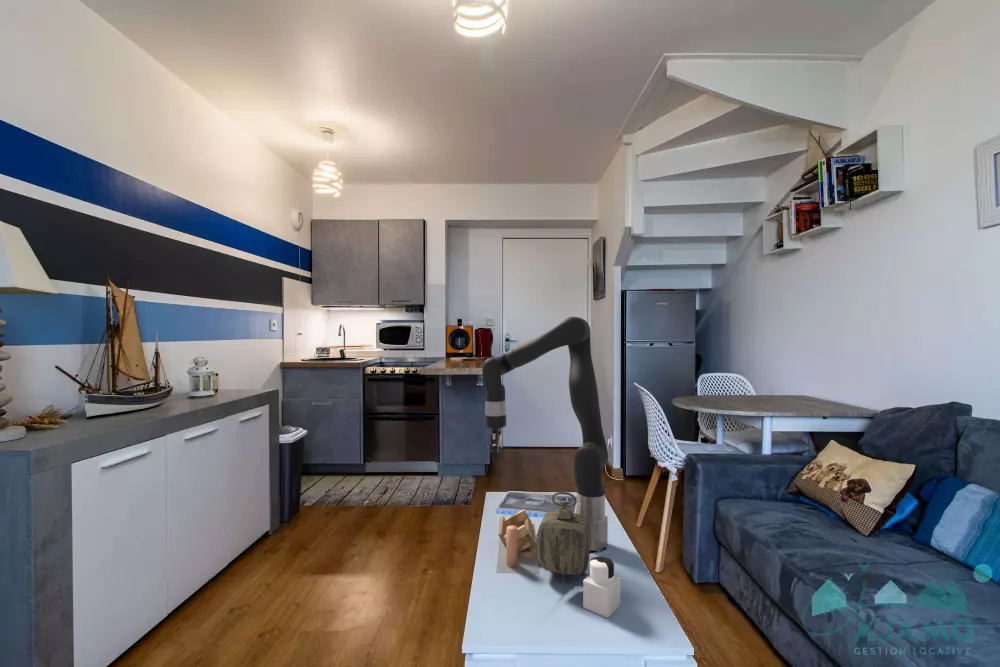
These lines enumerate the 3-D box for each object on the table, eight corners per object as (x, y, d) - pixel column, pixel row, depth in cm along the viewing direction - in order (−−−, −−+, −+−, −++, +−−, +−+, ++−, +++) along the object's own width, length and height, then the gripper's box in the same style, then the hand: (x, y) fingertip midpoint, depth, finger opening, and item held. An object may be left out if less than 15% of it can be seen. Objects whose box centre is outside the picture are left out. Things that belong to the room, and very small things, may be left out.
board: (539, 577, 132) (539, 573, 132) (496, 576, 133) (496, 572, 133) (536, 540, 155) (536, 536, 155) (499, 539, 156) (499, 536, 156)
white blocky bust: (595, 595, 124) (595, 550, 123) (620, 605, 119) (621, 559, 119) (582, 607, 118) (582, 561, 118) (608, 619, 114) (608, 570, 113)
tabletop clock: (591, 575, 133) (591, 489, 133) (588, 593, 124) (588, 501, 124) (541, 568, 137) (541, 484, 137) (535, 585, 128) (535, 495, 128)
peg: (519, 564, 137) (519, 527, 137) (512, 568, 135) (512, 531, 135) (511, 560, 139) (511, 524, 139) (504, 565, 137) (504, 528, 137)
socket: (535, 537, 155) (535, 509, 155) (536, 557, 141) (536, 526, 141) (500, 536, 155) (500, 508, 155) (498, 556, 142) (498, 525, 142)
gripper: (504, 417, 158) (505, 464, 158) (507, 409, 172) (508, 453, 172) (482, 416, 158) (483, 464, 158) (487, 409, 172) (488, 453, 172)
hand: (496, 458), depth 165 cm, fingers open, 8 cm apart
